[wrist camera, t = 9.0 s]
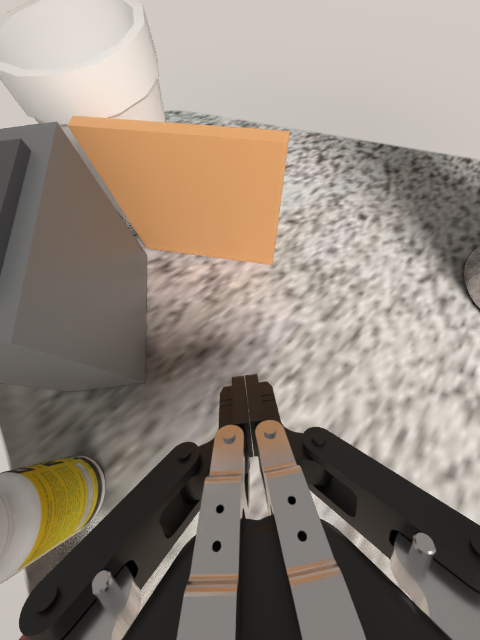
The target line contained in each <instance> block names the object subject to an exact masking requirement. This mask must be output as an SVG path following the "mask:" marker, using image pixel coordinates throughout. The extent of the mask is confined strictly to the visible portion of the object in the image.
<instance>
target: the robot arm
mask: <svg viewBox="0 0 480 640" xmlns="http://www.w3.org/2000/svg"><path fill="white" fill-rule="evenodd" d="M464 279H465V284H466V287H467V290H468V293H469V294H470V296H471V298H472V299H473V301H474V302H475V304H476V305H477V306H478V307H479V308H480V246H479V247H478V248H477V249H475V250H474V251H473V252H472V253H471V255H470V256H469V257H468V259H467V261H466V263H465V268H464ZM245 380H246V387H245ZM246 390H247V394H246ZM247 400H248V402H247ZM248 409H249V411H248ZM249 419H250V421H249ZM250 427H251V431H250ZM251 434H252V440H251ZM252 442H253V449H254V456H258V458H259V466H260V473H261V478H262V483H263V488H264V493H265V498H266V503H267V508H268V513H269V516H268V517H265V518H263V519H261V520H252V519H250V473H249V469H250V462H249V457H253V450H252ZM309 490H310V491H312V492H313V493H314V494H315V495H316V496H317V497H318V498H320V499H321V500H322V501H323V502H324V503H325V504H327V505H328V506H329V507H330V508H331V509H332V510H334V511H335V512H336V513H337V514H338V515H339V516H341V517H342V518H343V519H344V520H345V521H346V522H347V523H349V524H350V525H351V526H352V527H353V528H354V529H356V530H357V531H358V532H359V533H360V534H361V535H363V536H364V537H365V538H366V539H367V540H368V541H370V542H371V543H372V544H373V545H374V546H375V547H376V548H378V549H379V550H380V551H381V552H382V553H383V554H385V555H386V556H387V557H388V558H389V559H390V561H391V569H392V572H393V574H394V576H395V578H396V580H397V582H398V583H399V585H400V586H401V587H402V588H403V589H404V590H405V592H406V593H407V594H408V595H409V596H410V597H411V599H412V600H413V601H412V600H411V599H410V598H409V597H408V596H407V595H406V594H405V593H404V592H403V591H402V590H401V589H400V588H399V587H397V586H396V585H395V584H394V583H393V582H392V581H391V580H390V579H389V578H388V577H387V576H386V575H385V574H384V573H383V572H382V571H381V570H380V569H379V568H378V567H377V566H376V565H375V564H374V563H373V562H372V561H370V560H369V559H368V558H367V557H366V556H365V555H364V554H363V553H362V552H361V551H360V550H359V549H358V548H357V547H356V546H355V545H354V544H353V543H352V542H351V541H350V540H349V539H348V538H347V537H346V536H345V535H343V534H342V533H341V532H340V531H339V530H338V529H337V528H335V527H334V526H333V525H331V524H330V523H328V522H326V521H324V520H322V519H320V518H319V516H318V513H317V510H316V507H315V505H314V502H313V499H312V496H311V494H310V491H309ZM199 510H200V514H199V520H198V527H197V533H196V535H195V536H194V537H193V538H192V539H191V540H190V541H189V542H187V544H186V545H185V546H184V547H183V548H182V550H181V551H180V553H179V554H178V556H177V557H176V559H175V560H174V562H173V563H172V565H171V566H170V568H169V569H168V571H167V572H166V574H165V575H164V577H163V578H162V580H161V581H160V583H159V584H158V586H157V587H156V589H155V590H154V592H153V593H152V595H151V596H150V598H149V599H148V601H147V602H146V604H145V605H144V607H143V608H142V610H141V611H140V613H139V614H138V616H137V617H136V615H137V613H138V610H139V607H140V602H141V592H140V590H141V589H142V587H143V586H144V585H145V583H146V582H147V581H148V579H149V578H150V577H151V575H152V574H153V573H154V571H155V570H156V569H157V567H158V566H159V564H160V563H161V562H162V560H163V559H164V558H165V556H166V555H167V554H168V552H169V551H170V550H171V548H172V547H173V545H174V544H175V543H176V541H177V540H178V539H179V537H180V536H181V535H182V533H183V532H184V531H185V529H186V528H187V527H188V525H189V524H190V522H191V521H192V520H193V518H194V517H195V516H196V514H197V513H198V512H199ZM135 618H136V619H135ZM134 619H135V620H134ZM133 621H134V622H133ZM19 628H20V631H21V632H22V634H23V635H25V636H26V637H27V638H28V639H29V640H480V525H478V524H476V523H475V522H473V521H472V520H470V519H468V518H467V517H465V516H464V515H462V514H460V513H459V512H457V511H456V510H454V509H452V508H451V507H449V506H448V505H446V504H444V503H443V502H441V501H440V500H438V499H436V498H435V497H433V496H432V495H430V494H428V493H427V492H425V491H424V490H422V489H420V488H419V487H417V486H416V485H414V484H412V483H411V482H409V481H408V480H406V479H404V478H403V477H401V476H400V475H398V474H396V473H395V472H393V471H392V470H390V469H388V468H387V467H385V466H384V465H382V464H380V463H379V462H377V461H376V460H374V459H372V458H371V457H369V456H368V455H366V454H364V453H363V452H361V451H360V450H358V449H356V448H355V447H353V446H352V445H350V444H348V443H347V442H345V441H344V440H342V439H340V438H339V437H337V436H336V435H334V434H332V433H331V432H329V431H328V430H326V429H324V428H320V427H311V428H309V429H307V430H306V431H305V432H304V433H297V432H293V431H290V430H288V429H287V428H285V427H284V426H283V425H282V423H281V420H280V416H279V412H278V408H277V404H276V401H275V396H274V392H273V388H272V386H271V385H270V384H269V383H268V382H260V383H259V382H258V376H257V374H252V375H245V379H244V376H237V377H232V386H228V387H224V388H223V389H222V391H221V393H220V408H219V430H218V431H217V433H216V435H215V437H214V438H213V439H212V440H211V441H210V442H208V443H206V444H203V445H201V446H199V447H198V446H197V445H196V444H195V443H192V442H185V443H181V444H179V445H178V446H176V447H175V448H174V449H173V450H172V451H171V452H170V453H169V454H168V455H167V456H166V457H165V458H164V459H163V460H162V461H161V462H160V463H159V464H158V465H157V466H156V467H155V468H154V469H153V470H152V471H151V472H150V473H149V474H148V475H147V476H146V477H145V478H144V479H143V480H142V481H141V482H140V483H139V484H138V485H137V486H136V487H135V488H134V489H133V490H132V491H131V492H130V493H129V494H128V495H127V496H126V497H125V498H124V499H123V500H122V501H121V502H120V503H119V504H118V505H117V506H116V507H115V508H114V509H113V510H112V511H111V512H110V513H109V514H108V515H107V516H106V517H105V518H104V519H103V520H102V521H101V522H100V523H99V524H98V525H97V526H96V527H95V528H94V529H93V530H92V531H91V532H90V533H89V534H88V535H87V536H86V537H85V538H84V539H83V540H82V541H81V542H80V543H79V544H78V545H77V546H76V547H75V548H74V549H73V550H72V551H71V552H70V553H69V554H68V555H67V556H66V557H65V558H64V559H63V560H62V561H61V562H60V563H59V564H58V565H57V566H56V567H55V568H54V569H53V570H52V571H51V572H50V573H49V574H48V575H47V576H46V577H45V578H44V579H43V580H42V581H41V582H40V583H39V584H38V585H37V586H36V587H35V588H34V590H33V591H32V592H31V594H30V595H29V597H28V598H27V600H26V602H25V604H24V606H23V608H22V611H21V614H20V618H19Z"/></svg>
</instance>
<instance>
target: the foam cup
mask: <svg viewBox="0 0 480 640" xmlns="http://www.w3.org/2000/svg"><path fill="white" fill-rule="evenodd" d="M158 76H159V73H158V62H157V55H156V52H155V48H154V44H153V40H152V37H151V33H150V29H149V26H148V22H147V18H146V15H145V11H144V7H143V5H141V4H140V3H139V2H138V1H137V0H31V1H29V2H27V3H25V4H23V5H21V6H19V7H17V8H15V9H13V10H11V11H9V12H8V13H6V14H5V15H4V16H3V17H2V18H1V19H0V80H1V81H2V82H3V84H4V85H5V86H6V88H7V89H8V90H9V91H10V93H11V94H12V95H13V97H14V98H15V100H16V101H17V102H18V103H19V105H20V106H21V108H22V109H23V110H24V111H25V113H26V114H27V115H28V116H30V117H33V118H35V120H36V121H37V122H38V123H39V124H41V123H49V122H58V124H59V125H60V127H61V128H62V130H63V131H64V133H65V134H66V136H67V137H68V139H69V140H70V142H71V143H72V145H73V146H74V148H75V149H76V151H77V152H78V154H79V155H80V157H81V158H82V160H83V161H84V163H85V164H86V166H87V167H88V169H89V170H90V172H91V173H92V175H93V176H94V178H95V179H96V180H97V182H98V183H99V185H100V186H101V188H102V189H103V191H104V192H105V194H106V195H107V197H108V198H109V200H110V201H111V203H112V204H113V206H114V207H115V209H116V210H117V211H118V212H119V213H120V215H121V216H122V217H123V218H125V219H126V221H127V222H129V220H128V219H127V217H126V215H125V214H124V212H123V211H122V209H121V208H120V206H119V205H118V203H117V202H116V200H115V198H114V197H113V195H112V194H111V192H110V191H109V189H108V188H107V186H106V184H105V183H104V181H103V180H102V178H101V177H100V175H99V174H98V172H97V170H96V169H95V167H94V166H93V164H92V163H91V161H90V160H89V158H88V157H87V155H86V153H85V152H84V150H83V149H82V147H81V146H80V144H79V143H78V141H77V139H76V138H75V136H74V135H73V133H72V132H71V130H70V129H69V127H68V123H69V122H70V120H71V118H72V117H73V116H85V117H99V118H113V119H127V120H141V121H155V122H166V120H165V114H164V109H163V103H162V98H161V92H160V87H159V81H158ZM129 223H130V222H129Z"/></svg>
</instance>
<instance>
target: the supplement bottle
mask: <svg viewBox="0 0 480 640" xmlns="http://www.w3.org/2000/svg"><path fill="white" fill-rule="evenodd" d="M104 495H105V479H104V475H103V472H102V470H101V468H100V467H99V465H98V464H97V463H96V462H95V461H94V460H92V459H91V458H88V457H85V456H71V457H66V458H62V459H58V460H54V461H49V462H45V463H40V464H36V465H32V466H28V467H24V468H18V469H15V470H10V471H6V472H2V473H0V584H1V583H3V582H4V581H6V580H8V579H9V578H10V577H12V576H14V575H15V574H16V573H18V572H19V571H21V570H22V569H24V568H25V567H27V566H28V565H30V564H31V563H33V562H34V561H36V560H37V559H39V558H40V557H42V556H43V555H45V554H46V553H48V552H49V551H51V550H52V549H54V548H55V547H57V546H58V545H60V544H61V543H63V542H64V541H66V540H67V539H69V538H70V537H72V536H74V535H75V534H76V533H78V532H79V531H81V530H82V529H84V528H85V527H86V526H87V525H88V524H89V523H90V522H91V521H92V520H93V519H94V517H95V516H96V514H97V513H98V511H99V509H100V507H101V505H102V503H103V499H104Z"/></svg>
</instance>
